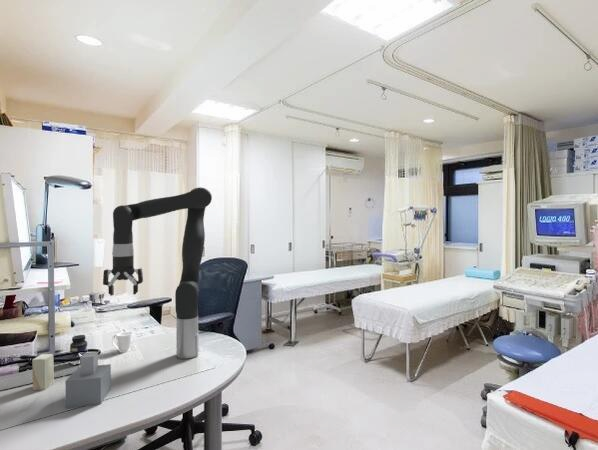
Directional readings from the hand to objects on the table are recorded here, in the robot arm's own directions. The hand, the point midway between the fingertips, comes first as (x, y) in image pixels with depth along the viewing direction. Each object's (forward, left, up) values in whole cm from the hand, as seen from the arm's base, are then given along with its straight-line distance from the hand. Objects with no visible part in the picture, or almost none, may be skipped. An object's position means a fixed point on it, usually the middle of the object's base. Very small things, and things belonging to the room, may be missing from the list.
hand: (123, 294), depth 135 cm
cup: (+6, -20, -30) cm, 37 cm away
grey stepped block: (+5, +22, -30) cm, 38 cm away
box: (+24, +10, -30) cm, 40 cm away
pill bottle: (+20, -10, -30) cm, 38 cm away
